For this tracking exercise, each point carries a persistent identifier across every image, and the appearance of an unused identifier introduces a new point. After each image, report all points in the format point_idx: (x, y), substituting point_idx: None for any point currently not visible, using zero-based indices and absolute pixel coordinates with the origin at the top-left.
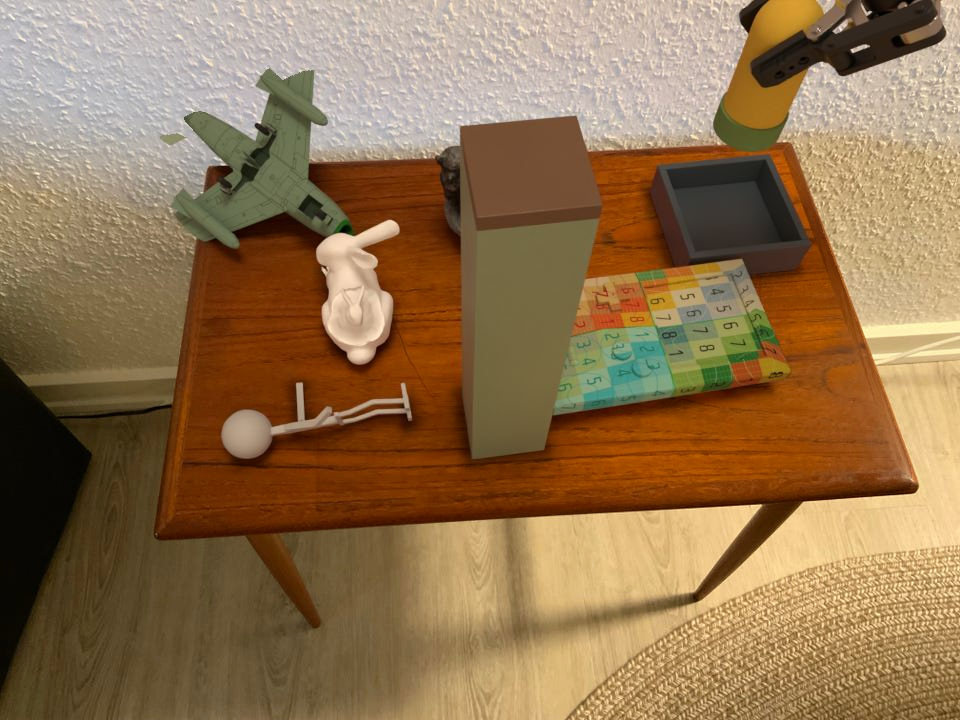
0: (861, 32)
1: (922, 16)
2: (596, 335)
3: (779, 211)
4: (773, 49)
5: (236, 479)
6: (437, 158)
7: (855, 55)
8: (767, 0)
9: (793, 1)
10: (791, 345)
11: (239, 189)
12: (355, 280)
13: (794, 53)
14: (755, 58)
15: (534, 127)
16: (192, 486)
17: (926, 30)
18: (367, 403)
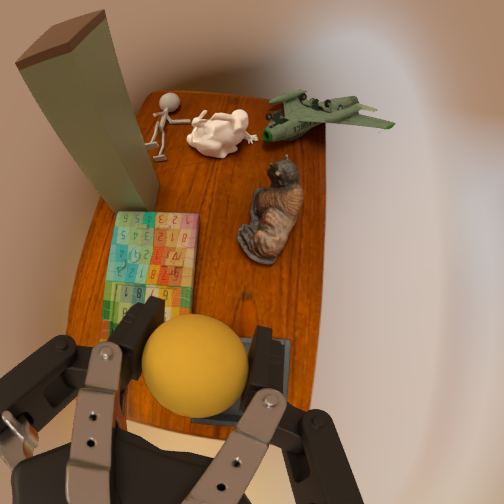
0: (31, 368)
1: None
2: (149, 245)
3: (234, 418)
4: (147, 317)
5: (158, 105)
6: (285, 157)
7: (68, 388)
8: (254, 355)
9: (184, 357)
10: (138, 383)
11: (303, 105)
12: (219, 124)
13: (120, 333)
14: (160, 302)
15: (77, 29)
16: (162, 95)
17: None
18: (155, 131)
